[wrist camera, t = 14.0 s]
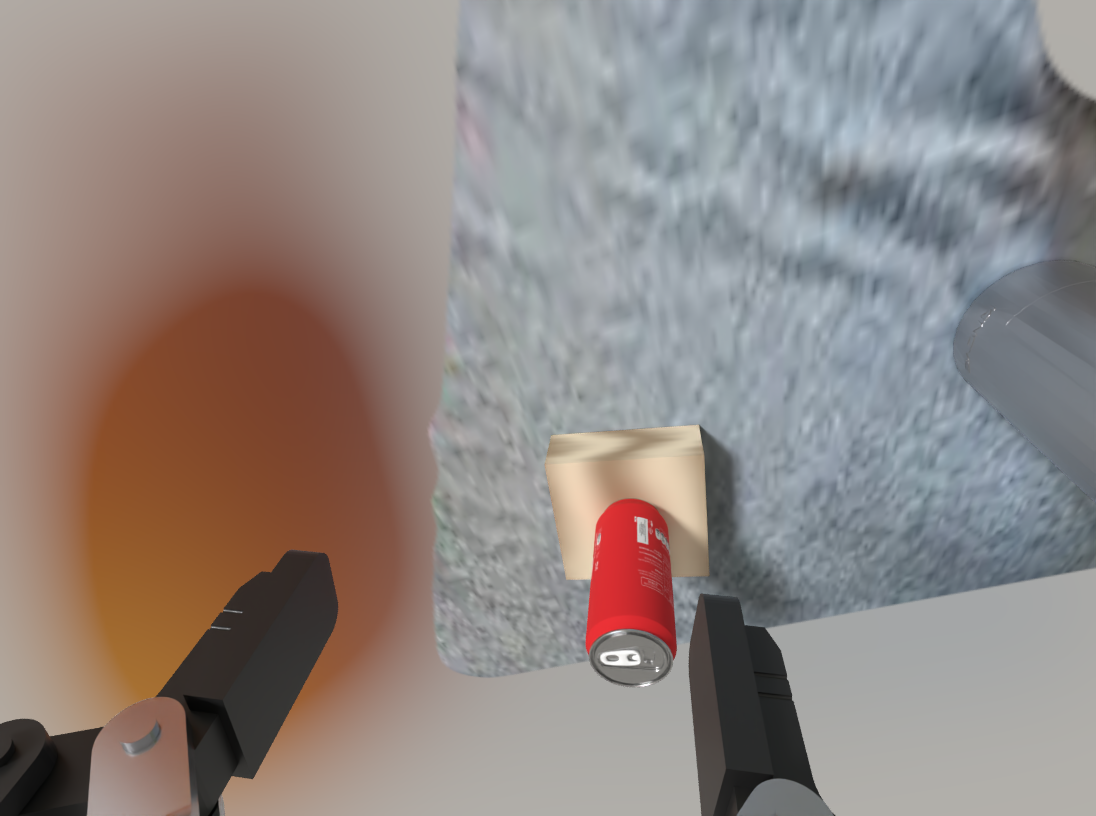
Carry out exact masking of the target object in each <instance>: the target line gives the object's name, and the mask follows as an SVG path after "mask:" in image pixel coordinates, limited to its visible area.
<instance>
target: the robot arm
mask: <svg viewBox="0 0 1096 816" xmlns="http://www.w3.org/2000/svg"><path fill="white" fill-rule="evenodd" d="M953 354H954V359H955V363H956V366H957V369H958V370H959V372H960V373H961V375H962V377H963V378H964V379H965V380H966V381H967V382H968V383H969V384H970V385H971V386H972V387H973V388H974V389H975V390H977V391H978V392H979V393H980V394H981V395H982V396H983V397H984V398H985V399H986V400H987V401H988V402H989V403H990V404H991V405H992V406H993V407H994V408H995V409H996V410H997V411H998V412H999V413H1000V414H1001V415H1002V416H1003V417H1005V418H1006V419H1007V420H1008V421H1009V422H1010V423H1011V424H1012V425H1013V426H1014V427H1015V428H1016V429H1017V430H1018V431H1019V432H1020V433H1022V434H1023V435H1024V436H1025V437H1026V438H1027V439H1028V440H1029V441H1030V442H1031V443H1032V444H1033V445H1034V446H1035V447H1036V448H1037V449H1039V450H1040V451H1041V452H1042V453H1043V454H1044V455H1045V456H1046V457H1047V458H1048V459H1049V460H1050V461H1051V462H1052V463H1053V464H1054V465H1056V466H1057V467H1058V468H1059V469H1060V470H1061V471H1062V472H1063V473H1064V474H1065V475H1066V476H1067V477H1068V478H1069V479H1070V480H1071V481H1073V482H1074V483H1075V484H1076V485H1077V486H1078V487H1079V488H1080V489H1081V490H1082V491H1083V492H1084V493H1085V494H1086V495H1087V496H1088V497H1090V498H1091V499H1092V500H1093V501H1094V502H1095V503H1096V267H1094V266H1092V265H1088V264H1085V263H1081V262H1077V261H1065V260H1055V261H1048V262H1040V263H1037V264H1033V265H1030V266H1027V267H1023V268H1020V269H1018V270H1016V271H1014V272H1012V273H1010V274H1008V275H1006V276H1004V277H1002V278H1001V279H999V280H998V281H997V282H995V283H994V284H992V285H991V286H989V287H988V288H987V289H986V290H985V291H984V292H983V293H981V294H980V295H979V296H978V297H977V298H976V299H975V300H974V301H973V303H972V304H971V305H970V307H969V308H968V309H967V311H966V312H965V313H964V315H963V317H962V319H961V321H960V323H959V325H958V327H957V330H956V334H955V338H954V342H953ZM337 614H338V601H337V596H336V591H335V586H334V582H333V577H332V572H331V567H330V563H329V559H328V556H327V555H326V554H325V553H317V552H308V551H298V550H289V551H287V552H286V553H285V554H284V556H283V557H282V558H281V560H280V561H279V562H278V564H277V565H276V567H275V568H274V569H273V571H272V572H271V573H270V572H260V573H259V574H258V575H256V576H255V577H254V578H252V579H251V580H250V581H248V582H247V583H245V584H244V585H243V586H241V587H240V588H239V589H238V591H237V592H236V593H235V594H234V596H233V597H232V598H231V600H230V601H229V602H228V603H227V605H226V606H225V607H224V611H223V613H220V614H219V615H218V617H217V618H216V619H215V621H214V622H213V623H212V624H211V628H210V630H209V629H208V630H207V631H206V632H205V634H204V635H203V636H202V638H201V639H200V640H199V641H198V643H197V644H196V645H195V647H194V648H193V650H192V651H191V652H190V653H189V655H188V656H187V657H186V659H185V660H184V661H183V662H182V664H181V665H180V666H179V668H178V669H177V670H176V672H175V673H174V674H173V676H172V677H171V678H170V679H169V681H168V682H167V683H166V685H165V686H164V687H163V689H162V690H161V691H160V692H159V693H158V695H157V696H156V697H154V698H149V699H146V700H143V701H140V702H137V703H135V704H133V705H131V706H129V707H127V708H126V709H124V710H123V711H121V712H120V713H118V714H117V715H116V716H115V717H114V718H112V719H111V720H110V721H109V722H108V723H107V724H106V725H105V726H104V727H100V728H95V729H90V730H84V731H78V732H73V733H67V734H61V735H56V736H49V735H48V733H47V731H46V730H45V728H44V727H43V725H42V724H40V723H39V722H38V721H35V720H31V719H17V720H12V721H8V722H4V723H2V724H0V816H225V811H224V802H223V797H222V795H221V794H222V792H223V790H224V788H225V787H226V785H227V783H228V781H229V780H230V778H231V776H235V777H242V778H249V779H253V778H254V776H255V774H256V773H257V771H258V769H259V767H260V765H261V763H262V761H263V760H264V758H265V756H266V754H267V752H268V750H269V748H270V747H271V745H272V743H273V741H274V739H275V737H276V735H277V734H278V731H279V730H280V728H281V726H282V724H283V722H284V721H285V719H286V717H287V715H288V713H289V711H290V709H291V708H292V706H293V704H294V702H295V700H296V698H297V696H298V695H299V693H300V691H301V689H302V687H303V685H304V683H305V681H306V680H307V678H308V676H309V674H310V672H311V670H312V669H313V667H314V665H315V663H316V661H317V659H318V657H319V655H320V654H321V652H322V650H323V648H324V646H325V644H326V643H327V641H328V639H329V637H330V635H331V633H332V631H333V629H334V626H335V623H336V619H337ZM689 679H690V691H691V702H692V713H693V725H694V735H695V747H696V757H697V769H698V780H699V791H700V803H701V814H702V816H835V815H834V814H833V813H832V812H831V810H830V809H829V808H828V806H827V805H826V804H825V802H824V801H823V799H822V798H821V796H820V795H819V792H818V790H817V788H816V786H815V783H814V780H813V777H812V773H811V769H810V765H809V761H808V757H807V753H806V749H805V745H804V741H803V737H802V733H801V729H800V725H799V721H798V717H797V713H796V709H795V705H794V702H793V701H792V693H791V690H790V685H789V681H788V680H787V673H786V669H785V665H784V661H783V657H782V653H781V650H780V649H779V647H778V646H777V644H776V643H775V642H774V640H773V639H772V637H771V636H770V634H769V633H768V632H767V630H766V629H765V627H756V626H747V625H744V620H743V615H742V610H741V605H740V602H739V599H738V598H737V597H728V596H719V595H709V594H700V596H699V600H698V605H697V610H696V615H695V620H694V626H693V631H692V636H691V641H690V649H689Z"/></svg>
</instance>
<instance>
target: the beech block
mask: <svg viewBox="0 0 1096 816" xmlns="http://www.w3.org/2000/svg"><path fill="white" fill-rule="evenodd" d="M545 469H546V475H547V480H548V485H549V490H550V496H551V501H552V506H553V511H554V516H555V522H556V527H557V532H558V537H559V543H560V548H561V553H562V558H563V564H564V569H565V574H566V579H567V580H576V579H591V575H592V563H593V552H594V540H595V529H596V524H597V521H598V519H599V518H600V516H601V515H602V514H603V513H604V511H605V510H606V508H607V507H608V506H609V505H610V504H612V503H613V502H615V501H618V500H621V499H625V498H637V499H641V500H644V501H647V502H649V503H650V504H652V505H653V506H654V507H655V508H656V509H657V510H658V511H659V513H660V515H661V516H662V517H663V518H664V520H665V522H666V524H667V526H668V533H669V547H670V561H671V574H672V577H693V576H709V556H708V533H707V510H706V487H705V463H704V451H703V446H702V440H701V435H700V429H699V425H690V426H675V427H661V428H647V429H633V430H619V431H604V432H590V433H576V434H562V435H551V439H550V443H549V448H548V452H547V456H546V461H545Z"/></svg>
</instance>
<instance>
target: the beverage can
mask: <svg viewBox="0 0 1096 816" xmlns="http://www.w3.org/2000/svg"><path fill="white" fill-rule="evenodd" d="M586 649H587V652H588V654H589V661H590V664H591V666H592V667H593V669H594V670H595V672H596V673H597V674H598V675H599V676H601V677H602V678H604V679H605V680H607V681H609V682H611V683H613V684H616V685H621V686H626V687H643V686H649V685H652V684H654V683H657V682H659V681H661V680H662V679H664V678H665V677H666V676H667V675H668V674H669V672H670V671H671V668H672V666H673V660H674V658H675V655H676V651H677V644H676V630H675V616H674V602H673V588H672V574H671V561H670V547H669V533H668V526H667V524H666V522H665V520H664V518H663V517H662V516H661V515H660V513H659V511H658V510H657V509H656V508H655V507H654V506H653V505H652V504H650V503H649V502H647V501H644V500H641V499H637V498H625V499H621V500H618V501H615V502H613V503H612V504H610V505H609V506H608V507H607V508H606V510H605V511H604V513H603V514H602V515H601V516H600V518H599V519H598V521H597V524H596V529H595V540H594V552H593V563H592V575H591V586H590V598H589V609H588V621H587V633H586Z"/></svg>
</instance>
